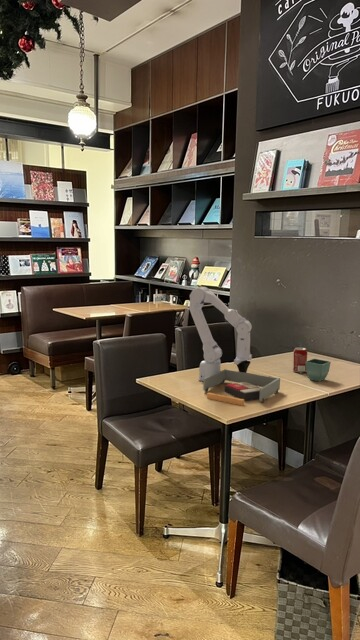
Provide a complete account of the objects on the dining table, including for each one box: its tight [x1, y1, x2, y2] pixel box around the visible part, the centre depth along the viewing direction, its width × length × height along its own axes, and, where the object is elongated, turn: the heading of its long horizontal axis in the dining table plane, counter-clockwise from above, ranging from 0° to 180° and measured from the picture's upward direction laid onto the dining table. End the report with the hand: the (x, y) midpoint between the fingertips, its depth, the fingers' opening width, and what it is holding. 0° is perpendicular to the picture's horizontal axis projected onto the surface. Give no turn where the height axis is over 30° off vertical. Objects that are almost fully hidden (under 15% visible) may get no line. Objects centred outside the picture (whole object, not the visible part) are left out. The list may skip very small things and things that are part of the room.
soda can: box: [292, 346, 308, 374], centre depth 233 cm, size 7×7×12 cm
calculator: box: [224, 382, 262, 402], centre depth 195 cm, size 11×4×15 cm
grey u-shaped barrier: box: [202, 368, 281, 403], centre depth 198 cm, size 27×20×6 cm
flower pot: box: [305, 358, 331, 382], centre depth 218 cm, size 9×9×9 cm
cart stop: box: [206, 392, 245, 406], centre depth 186 cm, size 16×2×2 cm, turn 57°
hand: (242, 376), depth 210 cm, fingers closed
